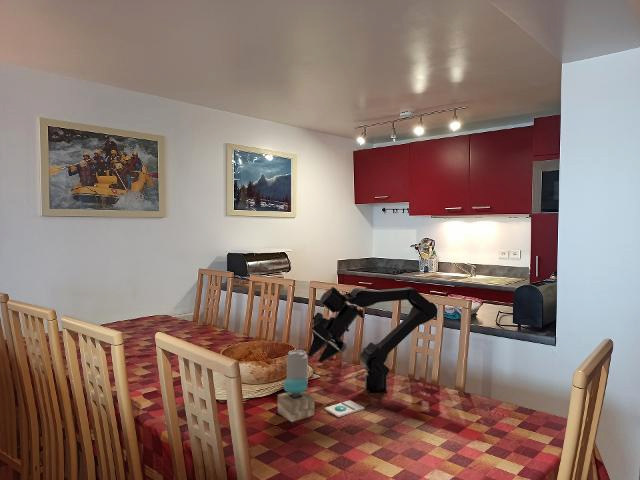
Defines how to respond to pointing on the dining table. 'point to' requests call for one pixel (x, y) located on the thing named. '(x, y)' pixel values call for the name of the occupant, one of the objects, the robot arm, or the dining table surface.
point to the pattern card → (344, 408)
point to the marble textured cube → (295, 406)
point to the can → (297, 364)
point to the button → (295, 386)
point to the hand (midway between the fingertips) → (314, 358)
